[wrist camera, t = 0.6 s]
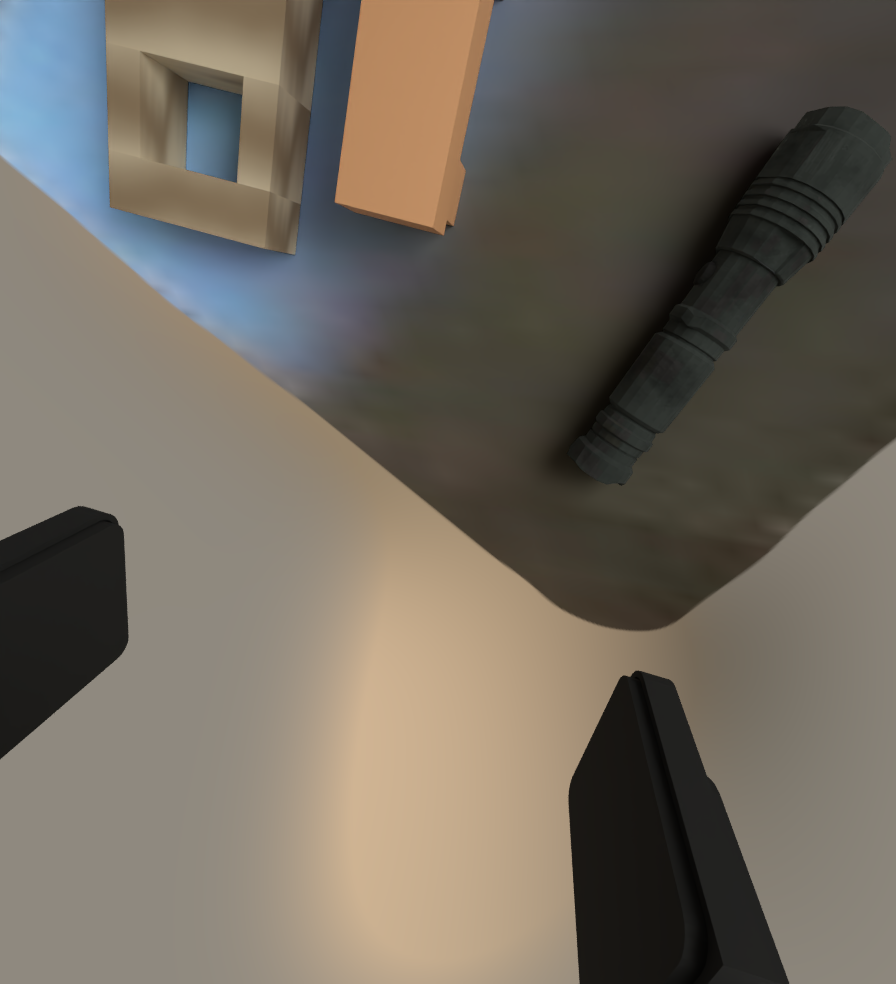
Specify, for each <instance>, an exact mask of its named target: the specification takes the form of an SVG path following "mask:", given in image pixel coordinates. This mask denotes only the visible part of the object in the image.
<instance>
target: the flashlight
mask: <svg viewBox="0 0 896 984" xmlns="http://www.w3.org/2000/svg"><path fill="white" fill-rule="evenodd" d="M890 141H891V136H890V135H889V133H888V132H887V131H886V130H885V129H884V128H883V127H881V126H880V125H879V124H878V123H877V122H875V121H874V120H873V119H872V118H870V117H869V116H868V115H866V114H865V113H864V112H862V111H859V110H856V109H853V108H850V107H827V108H822V109H818V110H814V111H810V112H807V113H806V114H805V115H804V116H803V118H802V119H801V120H800V122H799V123H798V124H797V126H796V127H795V128H794V129H791V130H790V132H789V133H788V134H787V135H786V137H785V138H784V139H783V141H782V142H781V144H780V145H779V146H778V148H777V149H776V151H775V152H774V153H773V155H772V156H771V158H770V159H769V160H768V162H767V163H766V165H765V166H764V167H763V169H762V170H761V172H760V173H759V174H758V176H757V177H756V179H755V180H754V182H753V183H752V184H751V185H750V187H749V188H748V191H747V192H746V193H745V194H744V195H743V197H742V198H741V201H740V202H739V203H738V204H737V206H736V207H735V209H734V211H733V212H732V213H731V214H730V216H729V217H728V218H729V223H728V224H727V226H726V228H725V230H724V232H723V234H722V236H721V238H720V240H719V242H718V244H717V246H716V248H715V249H716V253H717V255H716V256H715V257H714V259H713V260H712V261H711V262H708V263H706V264H705V265H704V266H703V267H702V268H701V269H700V270H699V272H698V273H697V275H696V276H695V279H694V284H695V285H694V286H693V288H692V289H691V291H690V292H689V293H688V295H687V296H686V297H685V299H684V300H683V302H682V303H681V304H677V305H675V307H674V308H673V310H672V311H671V312H670V314H669V317H670V320H669V321H668V322H667V324H666V325H665V327H664V328H663V332H658V333H655V334H654V336H653V337H652V338H651V340H650V341H649V343H648V344H647V345H646V347H645V348H644V350H643V351H642V352H641V354H640V355H639V356H638V358H637V359H636V361H635V362H634V363H633V365H632V366H631V368H630V369H629V370H628V372H627V373H626V375H625V376H624V377H623V379H622V380H621V382H620V383H619V384H618V386H617V387H616V389H615V390H614V391H613V393H612V394H611V395H610V397H609V398H610V403H611V404H610V405H608V406H607V407H606V408H605V410H601V411H600V412H599V414H598V415H597V416H596V422H595V423H594V425H593V429H592V428H591V429H590V430H589V432H588V433H587V435H585V436H579V437H578V438H577V439H576V440H575V441H574V442H573V443H572V444H571V445H570V447H569V451H568V452H567V454H568V455H569V456H570V457H571V458H572V459H573V460H574V461H575V462H576V463H577V465H578V466H579V468H580V469H582V470H583V471H584V472H585V473H587V474H588V475H590V476H591V477H593V478H594V479H596V480H597V481H600V482H602V483H605V484H612V483H618V484H619V485H621V486H622V485H624V484H625V483H626V482H627V480H628V479H629V478H630V476H631V475H632V473H633V472H632V465H633V464H634V463H635V462H636V460H637V458H639V457H640V456H641V454H642V453H643V452H648V450H649V449H650V448H651V447H652V445H653V444H652V441H653V439H654V438H655V434H656V433H663V432H664V431H665V430H666V429H667V428H668V426H669V425H670V424H671V423H672V421H673V420H674V419H675V418H676V416H677V415H678V414H679V413H680V411H681V410H682V409H683V408H684V406H685V405H686V404H687V403H688V401H689V400H690V399H691V398H692V397H693V395H694V394H695V393H696V392H697V390H698V389H699V388H700V387H701V385H702V384H703V383H704V382H705V380H706V379H707V378H708V377H709V375H710V374H711V373H712V372H713V370H714V363H713V361H717V359H718V358H719V357H720V356H721V354H722V353H723V352H724V351H727V350H730V349H731V348H732V346H733V345H734V344H735V343H736V341H737V339H736V336H737V334H738V333H739V332H740V331H741V329H742V328H743V327H744V326H745V324H746V323H747V322H748V321H749V319H750V318H751V317H752V316H753V314H754V313H755V312H756V311H757V309H758V308H759V307H760V306H761V304H762V303H763V302H764V301H765V299H766V298H767V297H768V296H769V294H770V293H771V292H772V291H773V289H774V288H775V287H776V286H781V285H784V284H785V283H786V282H787V281H788V280H789V279H790V278H791V277H792V276H793V275H794V274H796V273H797V272H798V271H799V270H800V269H801V268H802V267H803V266H804V265H805V264H806V263H809V262H811V261H813V260H814V259H815V258H816V257H817V254H818V253H819V252H821V251H822V250H823V248H824V247H825V244H826V243H828V242H829V241H830V240H831V239H832V238H833V234H835V233H837V232H838V230H839V229H840V227H841V225H843V224H844V223H845V221H846V220H847V219H848V218H849V217H850V215H851V214H852V213H853V212H854V210H855V209H856V208H857V207H858V205H859V204H860V203H861V202H862V201H863V199H864V198H865V197H866V196H867V194H868V193H869V192H870V191H871V189H872V188H873V187H874V186H875V185H876V183H877V182H878V181H879V180H880V178H881V176H882V174H883V172H884V169H885V168H886V166H887V165H888V164H889V163H890V161H891V160H892V158H891V154H890V149H889V147H890Z"/></svg>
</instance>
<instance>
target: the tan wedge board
mask: <svg viewBox="0 0 896 984" xmlns="http://www.w3.org/2000/svg"><path fill="white" fill-rule="evenodd" d="M493 3H494V0H362V1H361V8H360V16H359V23H358V31H357V38H356V46H355V53H354V61H353V68H352V76H351V83H350V91H349V98H348V106H347V113H346V121H345V128H344V136H343V143H342V151H341V158H340V166H339V173H338V181H337V188H336V196H335V203H337V204H339V205H341V206H343V207H345V208H347V209H349V210H351V211H353V212H355V213H359V214H363V215H367V216H371V217H374V218H378V219H382V220H386V221H390V222H394V223H397V224H401V225H405V226H409V227H413V228H417V229H420V230H424V231H428V232H432V233H436V234H440V235H443V236H444V232H445V227H446V224H447V225H451V226H454V222H455V217H456V213H457V208H458V204H459V199H460V195H461V190H462V186H463V181H464V176H465V172H466V171H465V169H464V167H463V165H462V163H461V161H460V157H461V152H462V148H463V143H464V138H465V134H466V129H467V124H468V120H469V115H470V110H471V106H472V101H473V96H474V92H475V87H476V82H477V78H478V73H479V68H480V64H481V59H482V55H483V50H484V45H485V41H486V36H487V31H488V27H489V22H490V17H491V13H492V8H493Z"/></svg>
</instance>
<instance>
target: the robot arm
mask: <svg viewBox="0 0 896 984" xmlns="http://www.w3.org/2000/svg"><path fill="white" fill-rule="evenodd" d="M127 643H128V616H127V595H126V572H125V551H124V533H123V529H122V528H121V526H119V525H118V521H117V519H116V518H115V517H114V516H113V515H111V514H108V513H104V512H101V511H97V510H94V509H91V508H87V507H83V506H82V507H81V506H78V507H74V508H72V509H69V510H67V511H65V512H63V513H60V514H59V515H56V516H54V517H52V518H49V519H47V520H45V521H43V522H41V523H38V524H36V525H34V526H32V527H29V528H27V529H25V530H23V531H21V532H18V533H16V534H14V535H12V536H10V537H7V538H5V539H3V540H1V541H0V759H1V758H2V757H3V756H4V755H6V754H7V753H8V752H9V751H10V750H12V749H13V748H14V747H15V746H16V745H17V744H18V743H20V742H21V741H22V740H23V739H24V738H25V737H27V736H28V735H29V734H30V733H31V732H33V731H34V730H35V729H36V728H37V727H38V726H39V725H41V724H42V723H43V722H44V721H45V720H46V719H48V718H49V717H50V716H51V715H52V714H53V713H55V712H56V711H57V710H58V709H59V708H60V707H62V706H63V705H64V704H65V703H66V702H67V701H68V700H70V699H71V698H72V697H73V696H74V695H75V694H77V693H78V692H79V691H80V690H81V689H82V688H84V687H85V686H86V685H87V684H88V683H90V682H91V681H92V680H93V679H94V678H95V677H96V676H98V675H99V674H100V673H101V672H102V671H104V670H105V668H107V667H108V666H109V665H110V664H112V663H113V662H114V661H115V660H116V659H117V658H118V657H119V656H120V655H121V654H122V653H123V651H124V650H125V648H126V645H127ZM569 817H570V834H571V849H572V867H573V883H574V899H575V914H576V931H577V947H578V963H579V980H580V984H789V981H788V979H787V976H786V973H785V970H784V968H783V965H782V963H781V960H780V957H779V954H778V951H777V949H776V946H775V943H774V940H773V938H772V935H771V932H770V930H769V927H768V924H767V921H766V919H765V916H764V913H763V911H762V908H761V905H760V902H759V900H758V897H757V894H756V892H755V889H754V886H753V883H752V881H751V878H750V875H749V873H748V870H747V867H746V864H745V861H744V859H743V856H742V853H741V851H740V848H739V845H738V842H737V840H736V837H735V834H734V832H733V829H732V826H731V823H730V821H729V818H728V815H727V813H726V810H725V807H724V804H723V802H722V799H721V796H720V794H719V792H718V790H717V788H716V786H715V784H714V783H713V782H712V780H711V779H710V778H708V777H707V775H706V772H705V770H704V767H703V764H702V761H701V758H700V755H699V753H698V750H697V747H696V744H695V742H694V739H693V735H692V733H691V730H690V727H689V724H688V721H687V719H686V716H685V713H684V710H683V708H682V704H681V702H680V699H679V696H678V693H677V690H676V688H675V685H674V683H673V682H672V681H671V680H669V679H665V678H662V677H658V676H655V675H652V674H648V673H645V672H642V671H635V672H634V673H633V674H632V676H631V677H628V676H622V677H621V678H620V679H619V681H618V683H617V685H616V687H615V690H614V691H613V694H612V696H611V698H610V700H609V702H608V704H607V706H606V708H605V710H604V712H603V715H602V716H601V719H600V721H599V723H598V725H597V727H596V729H595V731H594V733H593V735H592V737H591V739H590V741H589V744H588V746H587V748H586V750H585V752H584V754H583V756H582V758H581V760H580V762H579V765H578V767H577V769H576V771H575V773H574V775H573V777H572V780H571V783H570V788H569Z"/></svg>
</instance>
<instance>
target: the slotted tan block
mask: <svg viewBox="0 0 896 984" xmlns="http://www.w3.org/2000/svg"><path fill="white" fill-rule="evenodd" d="M322 5H323V0H105V24H106V65H107V107H108V148H109V189H110V207H111V208H115V209H119V210H122V211H126V212H130V213H133V214H137V215H141V216H145V217H148V218H152V219H156V220H159V221H163V222H167V223H171V224H174V225H178V226H182V227H186V228H189V229H193V230H197V231H200V232H204V233H208V234H212V235H215V236H219V237H223V238H226V239H230V240H234V241H238V242H241V243H245V244H249V245H252V246H256V247H260V248H264V249H268V250H273V251H278V252H283V253H288V254H293V255H295V252H296V242H297V233H298V224H299V215H300V206H301V197H302V188H303V179H304V169H305V160H306V151H307V142H308V133H309V124H310V115H311V106H312V96H313V87H314V78H315V69H316V60H317V51H318V42H319V33H320V23H321V14H322ZM188 82H192V83H196V84H200V85H204V86H208V87H212V88H216V89H220V90H224V91H228V92H232V93H236V94H240V95H242V111H241V126H240V142H239V158H238V173H237V183H235V182H231V181H227V180H223V179H219V178H216V177H212V176H208V175H204V174H200V173H196V172H193V171H189V170H186V141H187V106H188Z"/></svg>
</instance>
